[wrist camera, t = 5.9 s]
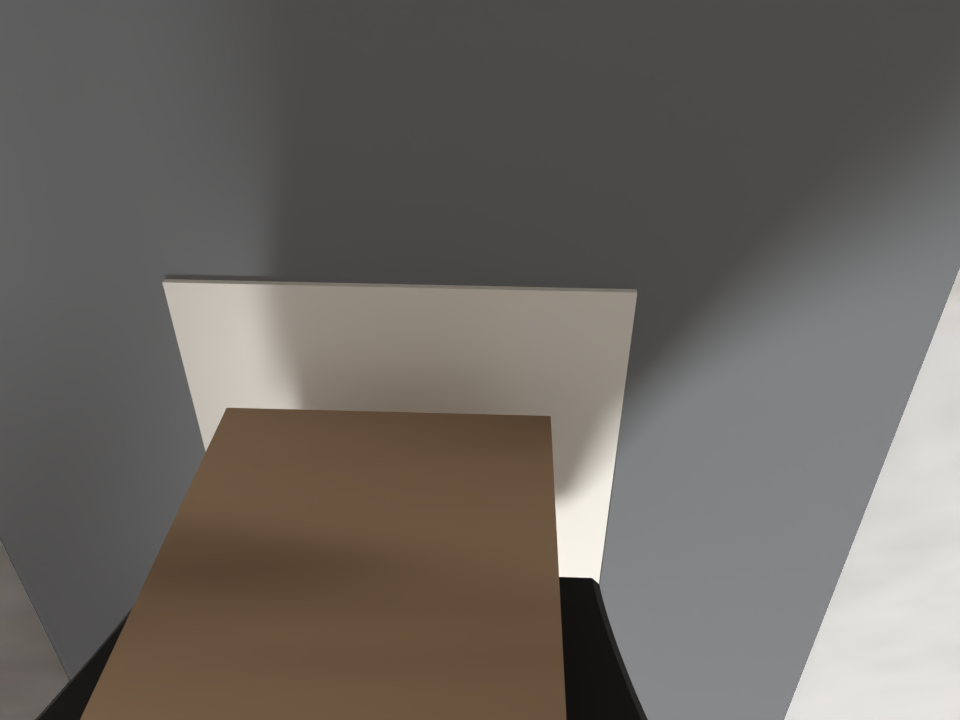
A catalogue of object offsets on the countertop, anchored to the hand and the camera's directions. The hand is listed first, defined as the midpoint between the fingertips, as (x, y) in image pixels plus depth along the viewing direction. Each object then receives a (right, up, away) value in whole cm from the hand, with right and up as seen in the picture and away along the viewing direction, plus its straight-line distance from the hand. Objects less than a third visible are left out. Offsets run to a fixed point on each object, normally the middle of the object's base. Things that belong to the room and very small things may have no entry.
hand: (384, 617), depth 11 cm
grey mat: (0, +2, +3) cm, 4 cm away
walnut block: (0, +1, +1) cm, 2 cm away
